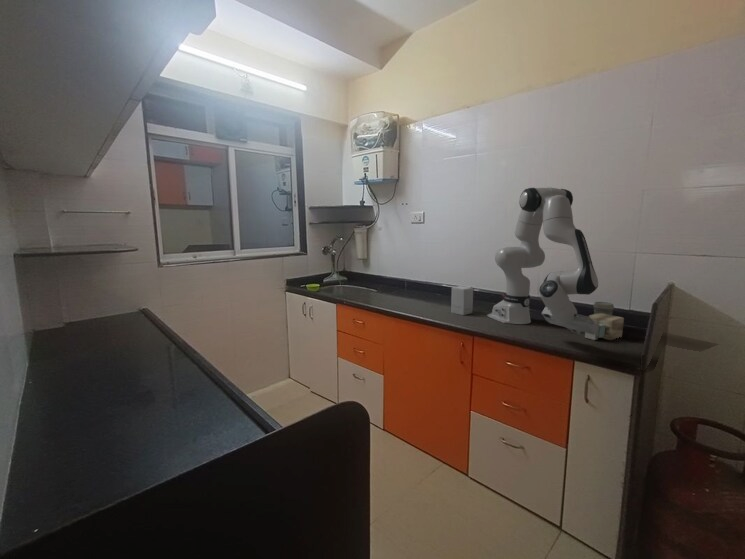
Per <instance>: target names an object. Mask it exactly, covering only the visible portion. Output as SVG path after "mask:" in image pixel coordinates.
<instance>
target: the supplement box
mask: <svg viewBox="0 0 745 559" xmlns="http://www.w3.org/2000/svg"><path fill="white" fill-rule="evenodd" d="M450 295H451V300H450V302H451V303H450V304H451V305H450V306H451V308H450V312H451V314H456V315H460V316H465V315H468V314H469V315H470V314H472V313H473V306H474V305H473V303H474V302H473V300H474V287H471V286H466V285H464V286H463V285H458V286H453V287H451V294H450Z"/></svg>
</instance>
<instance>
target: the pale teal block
mask: <svg viewBox="0 0 745 559" xmlns="http://www.w3.org/2000/svg"><path fill="white" fill-rule="evenodd" d="M604 335H605V324H600V323H599V331H598V339H600V338H601V337H604ZM601 339H602V338H601Z"/></svg>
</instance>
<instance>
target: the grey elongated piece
mask: <svg viewBox="0 0 745 559" xmlns="http://www.w3.org/2000/svg"><path fill="white" fill-rule="evenodd" d="M594 322H595V323H596V324H597V325H598V330H597V332H596V333H595V334H590V333H586V332H584V338H585V339H589V340H592V341H597V340H598V339H599V338H598V331H599V321H596V320H594Z"/></svg>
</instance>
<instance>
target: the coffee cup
mask: <svg viewBox="0 0 745 559" xmlns="http://www.w3.org/2000/svg"><path fill="white" fill-rule="evenodd" d="M592 307H593V314H597V313H603V314H608V315H613V312H614V310H615V306H614V303H611V302H607V301H595V302H594V303H593V306H592Z"/></svg>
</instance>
